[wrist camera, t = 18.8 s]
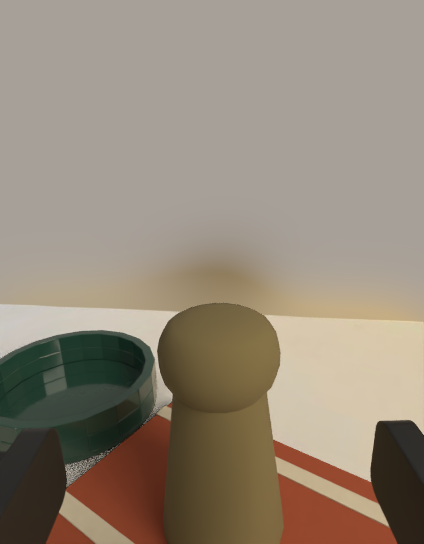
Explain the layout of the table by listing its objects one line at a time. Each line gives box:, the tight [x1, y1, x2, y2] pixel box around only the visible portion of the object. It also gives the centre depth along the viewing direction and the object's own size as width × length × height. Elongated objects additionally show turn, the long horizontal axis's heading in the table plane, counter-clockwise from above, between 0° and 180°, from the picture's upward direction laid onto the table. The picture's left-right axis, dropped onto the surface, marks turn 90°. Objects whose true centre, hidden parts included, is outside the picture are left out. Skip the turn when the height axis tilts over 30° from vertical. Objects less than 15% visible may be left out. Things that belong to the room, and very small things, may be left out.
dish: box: [0, 330, 157, 465], centre depth 29 cm, size 13×13×3 cm
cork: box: [157, 303, 284, 544], centre depth 18 cm, size 6×6×11 cm
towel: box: [46, 402, 397, 544], centre depth 20 cm, size 16×12×1 cm
